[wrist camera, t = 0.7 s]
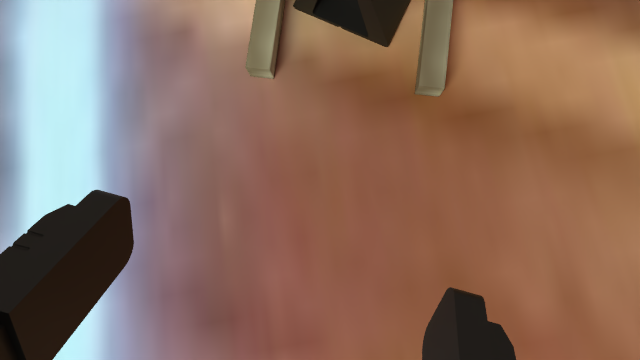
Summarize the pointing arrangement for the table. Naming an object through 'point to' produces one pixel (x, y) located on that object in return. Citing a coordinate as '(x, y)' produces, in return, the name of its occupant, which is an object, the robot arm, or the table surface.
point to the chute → (430, 52)
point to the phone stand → (359, 16)
